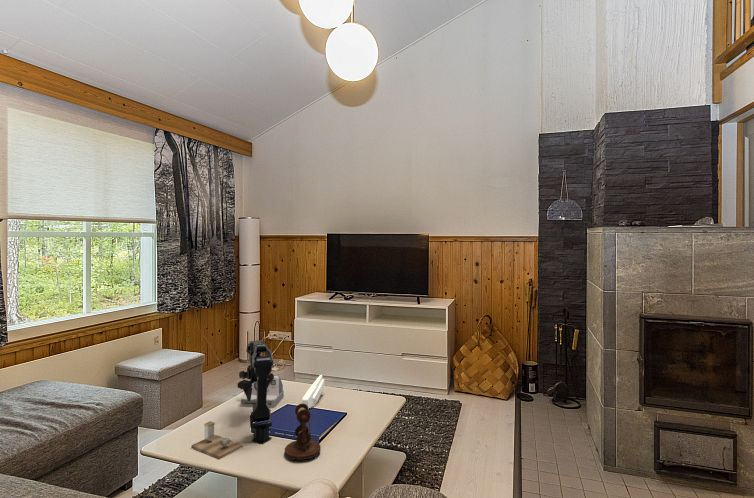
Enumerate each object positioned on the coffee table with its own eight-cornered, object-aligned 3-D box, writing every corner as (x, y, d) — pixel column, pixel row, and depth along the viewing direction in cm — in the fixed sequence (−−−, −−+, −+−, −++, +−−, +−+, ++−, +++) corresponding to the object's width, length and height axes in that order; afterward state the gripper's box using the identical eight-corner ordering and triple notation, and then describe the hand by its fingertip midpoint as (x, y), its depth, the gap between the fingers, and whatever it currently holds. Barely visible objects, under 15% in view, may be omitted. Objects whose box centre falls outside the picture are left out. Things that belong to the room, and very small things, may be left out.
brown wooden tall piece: (323, 460, 172) (323, 411, 172) (286, 465, 168) (286, 415, 168) (317, 443, 186) (317, 398, 186) (283, 448, 182) (283, 401, 182)
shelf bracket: (327, 395, 246) (325, 375, 243) (311, 421, 222) (309, 399, 219) (318, 394, 247) (316, 374, 244) (301, 420, 223) (299, 398, 220)
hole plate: (242, 447, 183) (242, 436, 183) (219, 459, 173) (219, 447, 173) (214, 437, 192) (214, 426, 192) (191, 448, 182) (191, 437, 182)
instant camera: (235, 406, 228) (235, 379, 228) (255, 393, 248) (255, 368, 248) (271, 410, 223) (271, 382, 223) (289, 396, 243) (289, 370, 243)
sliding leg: (214, 440, 186) (214, 422, 186) (208, 443, 183) (208, 425, 183) (210, 439, 187) (210, 421, 187) (204, 442, 184) (204, 423, 184)
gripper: (258, 359, 220) (258, 389, 220) (229, 368, 204) (229, 400, 204) (274, 362, 214) (274, 393, 214) (245, 372, 198) (245, 405, 198)
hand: (256, 397), depth 208 cm, fingers open, 9 cm apart
